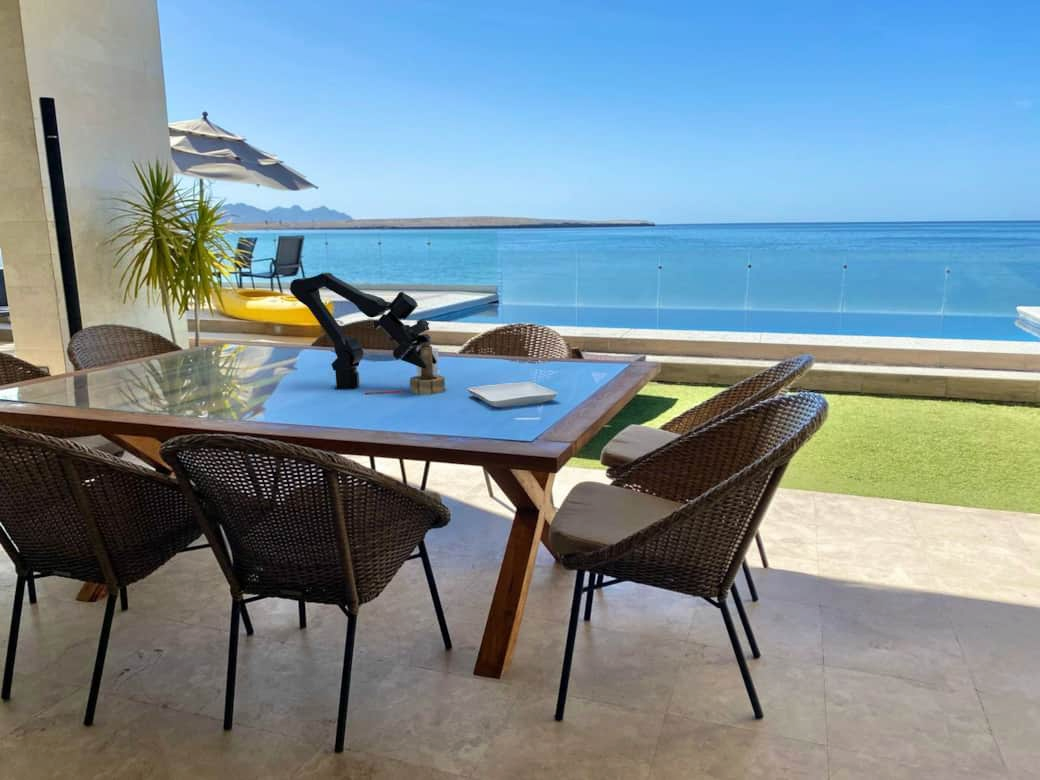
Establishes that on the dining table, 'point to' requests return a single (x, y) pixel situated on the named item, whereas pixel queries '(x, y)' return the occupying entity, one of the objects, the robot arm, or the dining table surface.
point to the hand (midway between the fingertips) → (430, 365)
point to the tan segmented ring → (427, 385)
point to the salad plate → (513, 394)
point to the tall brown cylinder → (426, 361)
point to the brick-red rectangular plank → (385, 391)
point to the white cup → (435, 366)
